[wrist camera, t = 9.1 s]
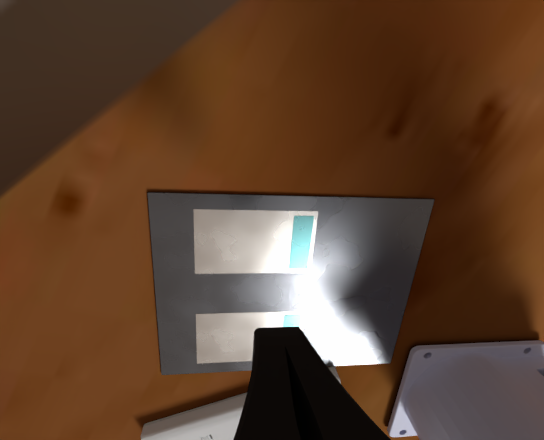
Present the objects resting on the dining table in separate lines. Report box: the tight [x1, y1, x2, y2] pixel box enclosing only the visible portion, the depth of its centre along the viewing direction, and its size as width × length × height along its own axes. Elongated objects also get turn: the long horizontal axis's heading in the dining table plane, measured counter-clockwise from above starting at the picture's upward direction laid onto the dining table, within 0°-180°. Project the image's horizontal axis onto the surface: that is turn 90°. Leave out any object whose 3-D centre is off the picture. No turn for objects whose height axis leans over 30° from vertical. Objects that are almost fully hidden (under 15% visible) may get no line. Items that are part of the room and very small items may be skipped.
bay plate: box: [148, 192, 435, 375], centre depth 18 cm, size 14×11×1 cm
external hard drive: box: [141, 366, 341, 440], centre depth 22 cm, size 2×8×12 cm
